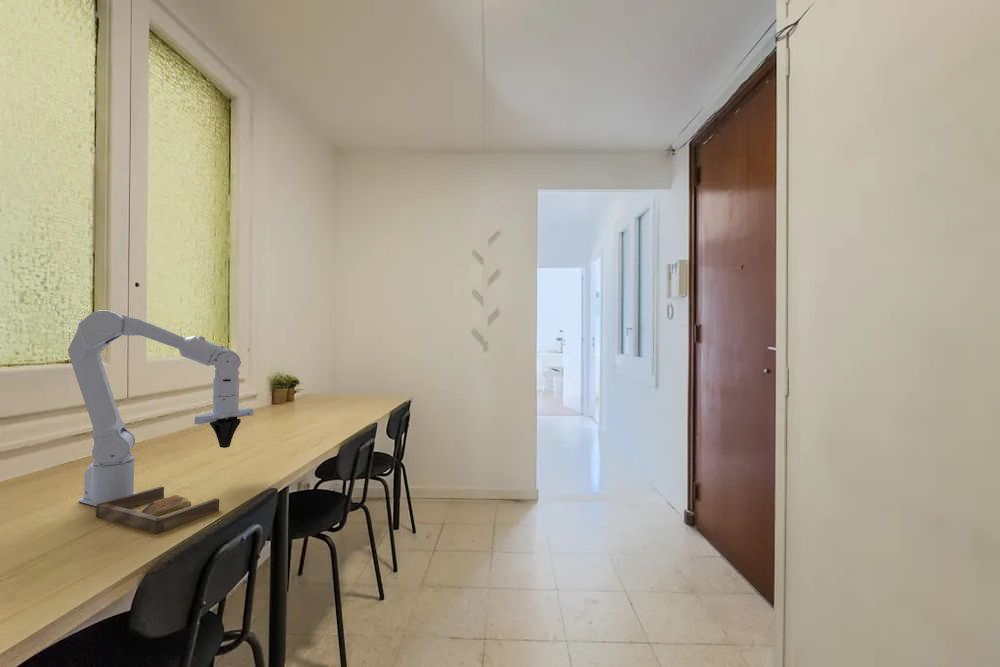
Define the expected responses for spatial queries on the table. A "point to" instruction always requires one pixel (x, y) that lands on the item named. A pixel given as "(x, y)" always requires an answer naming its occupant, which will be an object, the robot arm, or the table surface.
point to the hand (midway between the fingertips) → (224, 447)
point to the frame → (121, 514)
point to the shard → (166, 505)
